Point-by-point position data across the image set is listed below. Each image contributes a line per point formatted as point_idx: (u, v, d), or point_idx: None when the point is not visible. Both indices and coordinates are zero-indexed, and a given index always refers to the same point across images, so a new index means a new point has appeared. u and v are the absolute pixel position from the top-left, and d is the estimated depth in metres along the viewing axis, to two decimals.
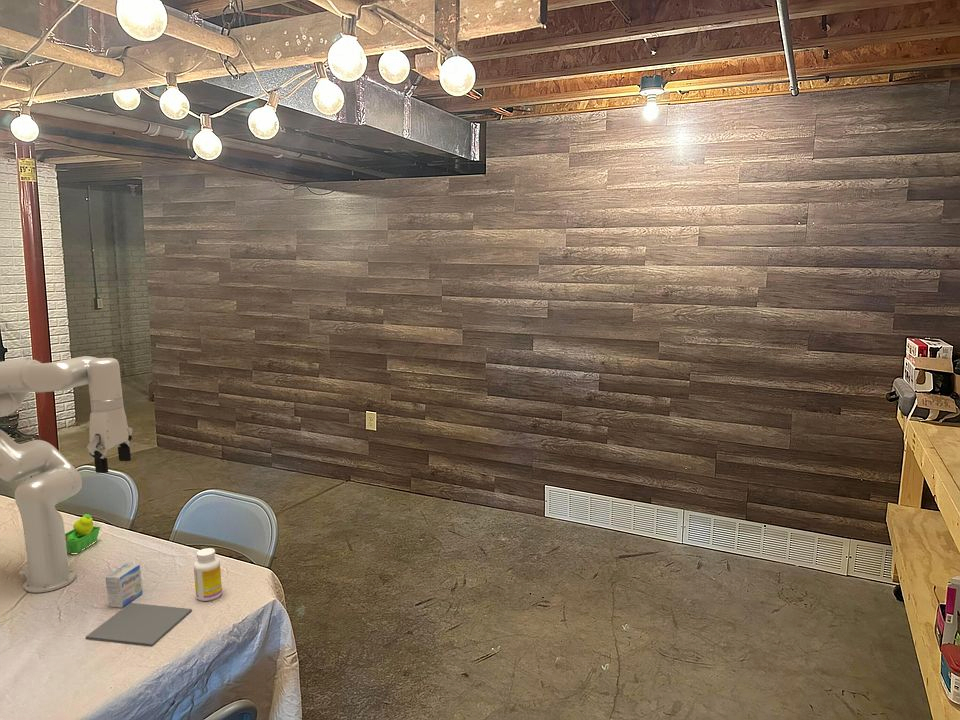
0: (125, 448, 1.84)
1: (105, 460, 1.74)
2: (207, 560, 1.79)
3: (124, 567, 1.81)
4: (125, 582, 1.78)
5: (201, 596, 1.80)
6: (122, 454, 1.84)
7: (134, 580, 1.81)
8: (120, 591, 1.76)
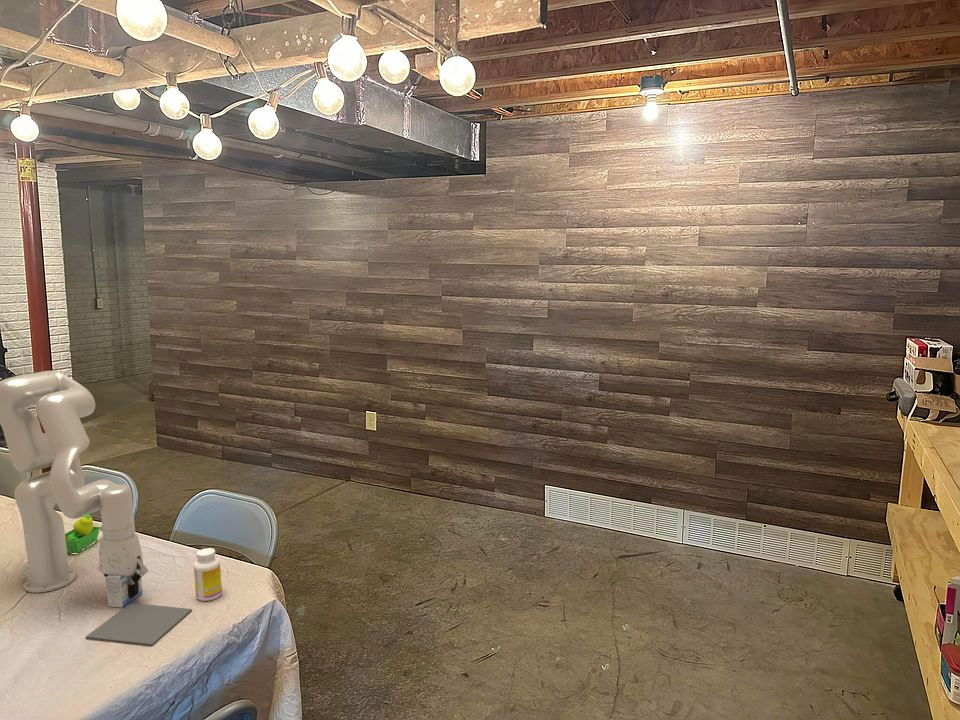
0: None
1: (137, 582, 1.81)
2: (207, 560, 1.79)
3: None
4: (125, 582, 1.77)
5: (201, 596, 1.80)
6: None
7: None
8: (120, 590, 1.76)
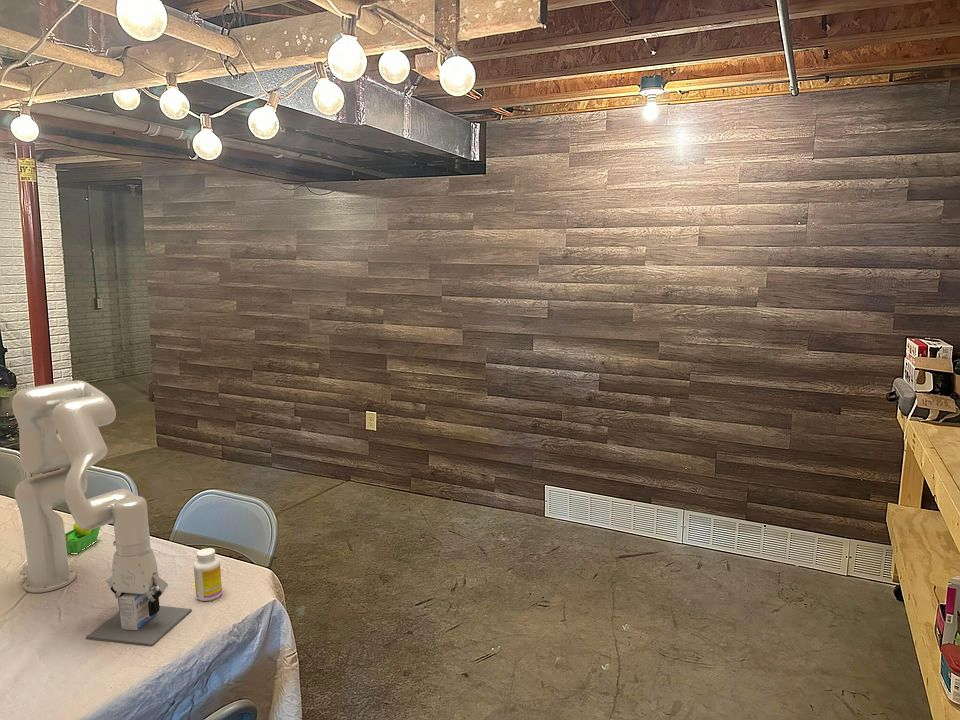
0: None
1: None
2: (207, 560, 1.79)
3: None
4: (139, 603, 1.66)
5: (201, 596, 1.80)
6: None
7: (149, 600, 1.69)
8: (134, 612, 1.64)
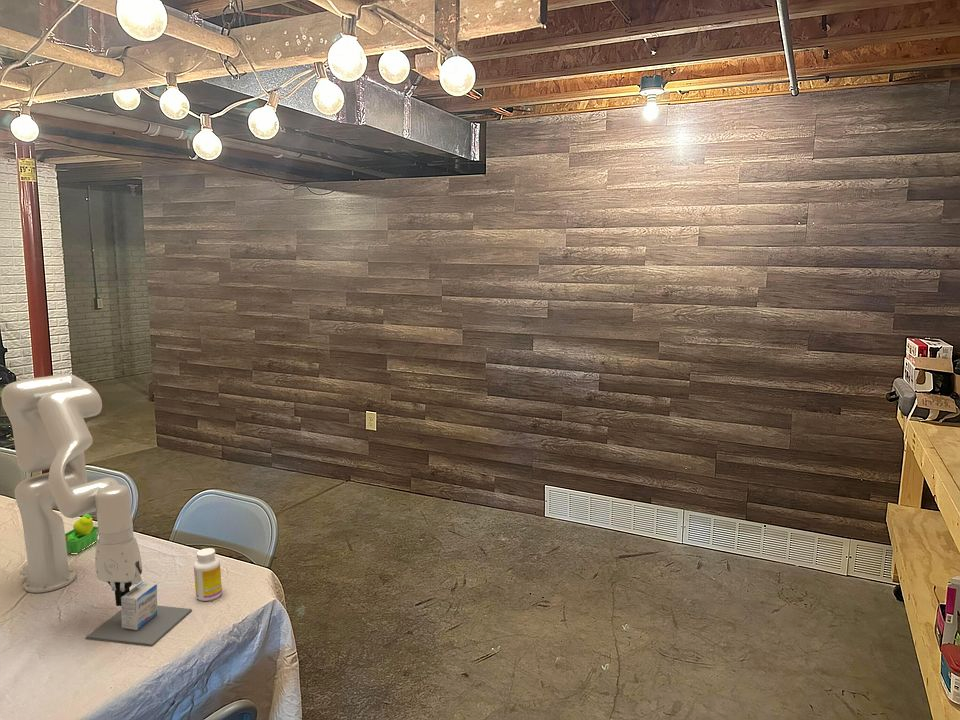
0: None
1: (128, 588, 1.70)
2: (207, 560, 1.79)
3: (140, 586, 1.69)
4: (142, 603, 1.66)
5: (201, 596, 1.80)
6: None
7: (150, 601, 1.69)
8: (136, 612, 1.64)
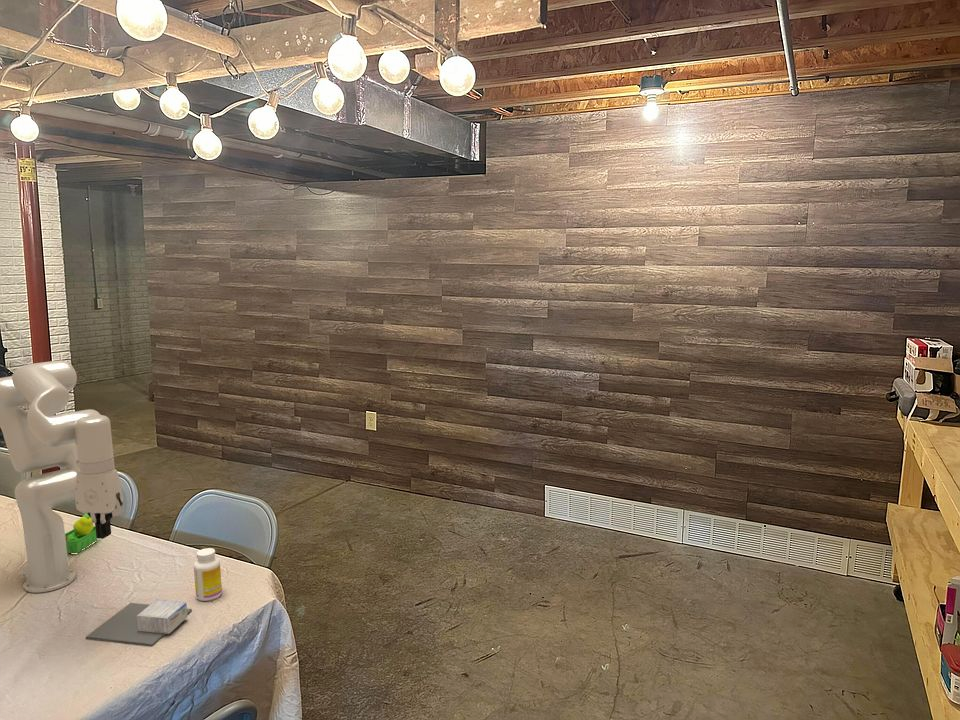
0: None
1: None
2: (207, 560, 1.79)
3: (181, 611, 1.68)
4: None
5: (201, 596, 1.80)
6: None
7: None
8: (155, 632, 1.64)
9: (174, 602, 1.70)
